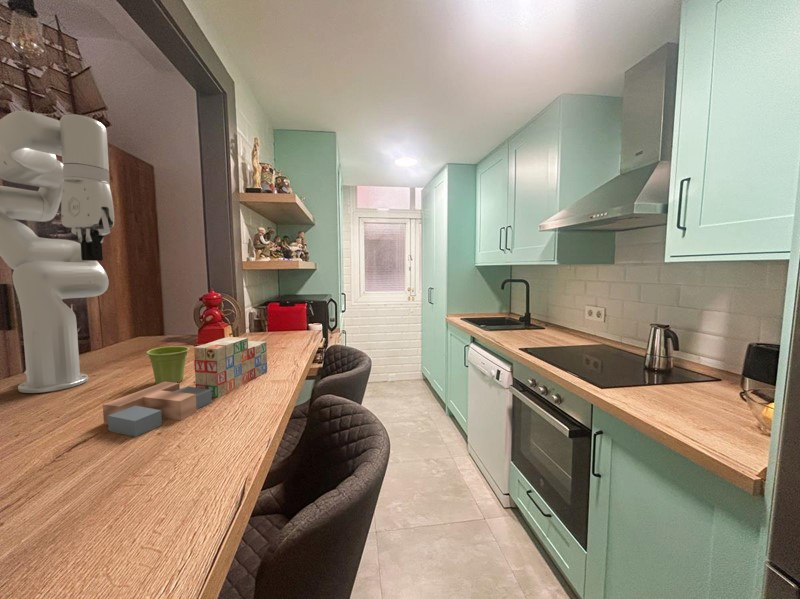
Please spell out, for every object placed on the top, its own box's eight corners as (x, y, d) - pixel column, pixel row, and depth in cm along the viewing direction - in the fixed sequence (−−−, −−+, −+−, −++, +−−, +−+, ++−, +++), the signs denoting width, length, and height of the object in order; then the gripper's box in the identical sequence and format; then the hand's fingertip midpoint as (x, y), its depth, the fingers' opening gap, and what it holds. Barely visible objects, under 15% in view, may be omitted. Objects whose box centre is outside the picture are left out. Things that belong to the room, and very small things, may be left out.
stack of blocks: (248, 370, 103) (248, 330, 102) (267, 371, 102) (267, 331, 101) (195, 396, 82) (193, 346, 81) (218, 398, 81) (216, 347, 80)
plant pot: (177, 374, 98) (176, 344, 97) (197, 379, 94) (196, 348, 93) (140, 383, 90) (139, 351, 89) (160, 389, 86) (158, 356, 85)
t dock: (108, 430, 64) (107, 415, 64) (188, 398, 80) (187, 386, 80) (135, 436, 62) (134, 421, 62) (211, 402, 78) (211, 389, 78)
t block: (103, 424, 67) (102, 404, 67) (165, 397, 81) (165, 381, 80) (159, 431, 64) (158, 411, 64) (213, 403, 78) (212, 386, 78)
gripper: (43, 174, 74) (49, 259, 75) (90, 170, 69) (96, 260, 71) (83, 183, 81) (88, 260, 82) (129, 179, 76) (133, 261, 78)
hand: (92, 260), depth 77 cm, fingers closed
